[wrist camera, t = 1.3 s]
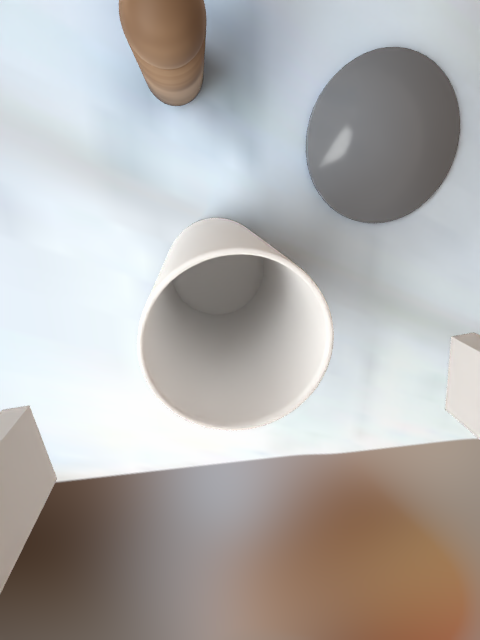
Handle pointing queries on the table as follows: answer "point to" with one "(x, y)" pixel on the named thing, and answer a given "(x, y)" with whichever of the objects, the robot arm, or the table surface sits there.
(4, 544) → the robot arm
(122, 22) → the pepper mill
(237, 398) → the cup
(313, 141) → the coaster
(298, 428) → the table surface
